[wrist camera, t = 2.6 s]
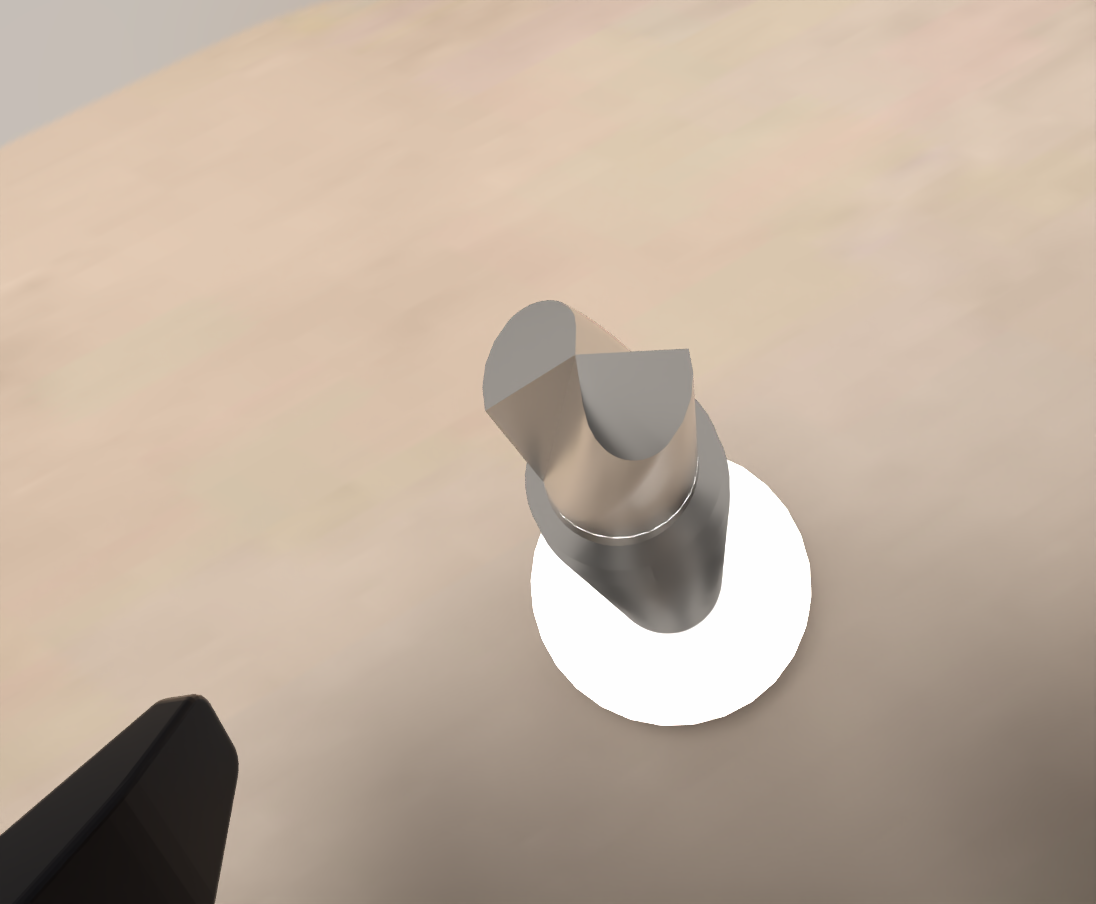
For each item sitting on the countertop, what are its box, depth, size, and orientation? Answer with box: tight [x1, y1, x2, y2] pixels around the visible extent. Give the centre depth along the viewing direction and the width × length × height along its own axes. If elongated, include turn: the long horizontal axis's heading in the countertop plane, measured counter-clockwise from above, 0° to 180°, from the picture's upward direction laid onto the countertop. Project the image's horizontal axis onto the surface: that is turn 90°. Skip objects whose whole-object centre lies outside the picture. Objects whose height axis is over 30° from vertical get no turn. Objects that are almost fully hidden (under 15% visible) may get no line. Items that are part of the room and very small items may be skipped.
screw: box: [483, 300, 811, 726], centre depth 11 cm, size 13×5×5 cm
